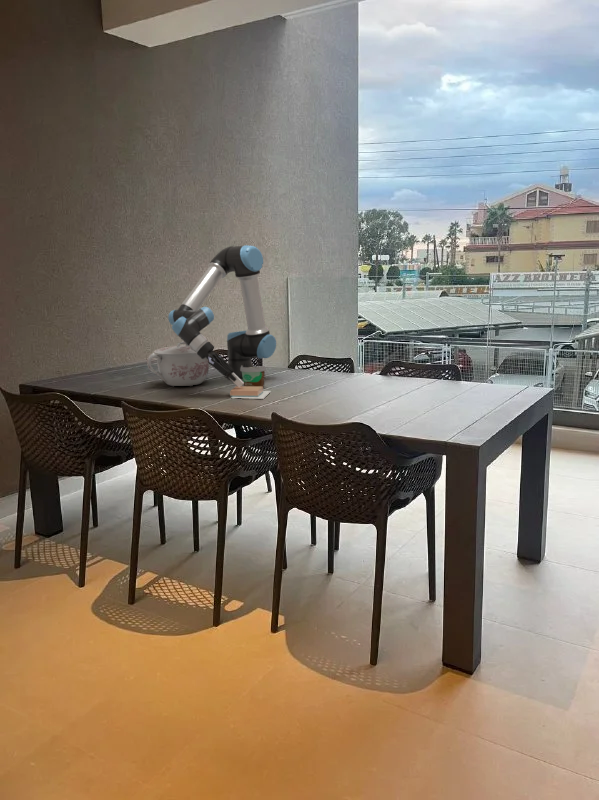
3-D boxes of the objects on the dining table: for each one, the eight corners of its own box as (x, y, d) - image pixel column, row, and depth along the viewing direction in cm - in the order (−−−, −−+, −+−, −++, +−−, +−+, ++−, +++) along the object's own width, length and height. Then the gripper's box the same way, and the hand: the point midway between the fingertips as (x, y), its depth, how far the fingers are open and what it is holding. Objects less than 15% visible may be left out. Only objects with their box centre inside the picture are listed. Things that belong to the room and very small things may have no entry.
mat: (240, 391, 286) (240, 390, 286) (271, 392, 284) (271, 390, 283) (230, 399, 270) (230, 398, 270) (263, 399, 268) (263, 398, 268)
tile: (236, 386, 283) (262, 386, 280) (236, 391, 283) (263, 392, 281) (230, 390, 273) (257, 390, 271) (230, 396, 273) (257, 396, 271)
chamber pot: (219, 379, 320) (217, 337, 315) (206, 389, 293) (203, 344, 289) (164, 379, 322) (161, 338, 318) (146, 390, 296) (143, 345, 291)
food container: (236, 389, 293) (235, 367, 291) (242, 386, 299) (241, 365, 297) (261, 390, 289) (260, 368, 287) (266, 387, 295) (265, 366, 293)
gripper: (201, 351, 283) (239, 388, 284) (191, 355, 271) (231, 394, 271) (212, 339, 281) (251, 376, 282) (203, 342, 269) (243, 382, 269)
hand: (241, 385), depth 277 cm, fingers closed
